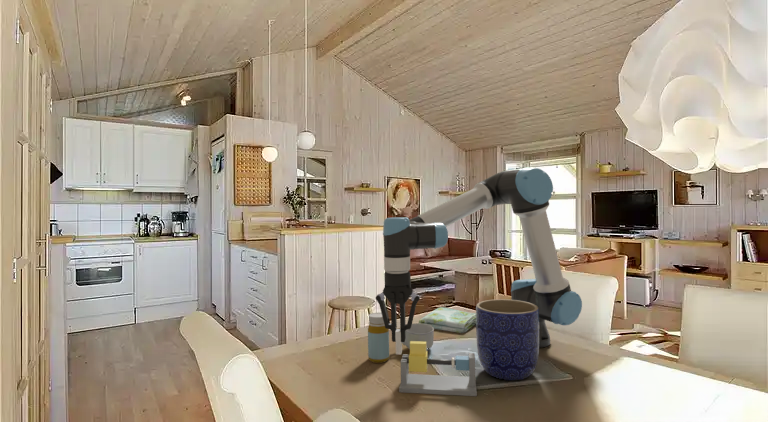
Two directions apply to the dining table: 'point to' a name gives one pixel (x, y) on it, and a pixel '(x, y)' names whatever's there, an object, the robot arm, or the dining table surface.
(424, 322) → the towel
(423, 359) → the sleeve
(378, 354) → the bottle
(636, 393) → the dining table surface
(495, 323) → the planter
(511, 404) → the dining table surface
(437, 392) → the grey u-shaped stand
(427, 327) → the teacup
